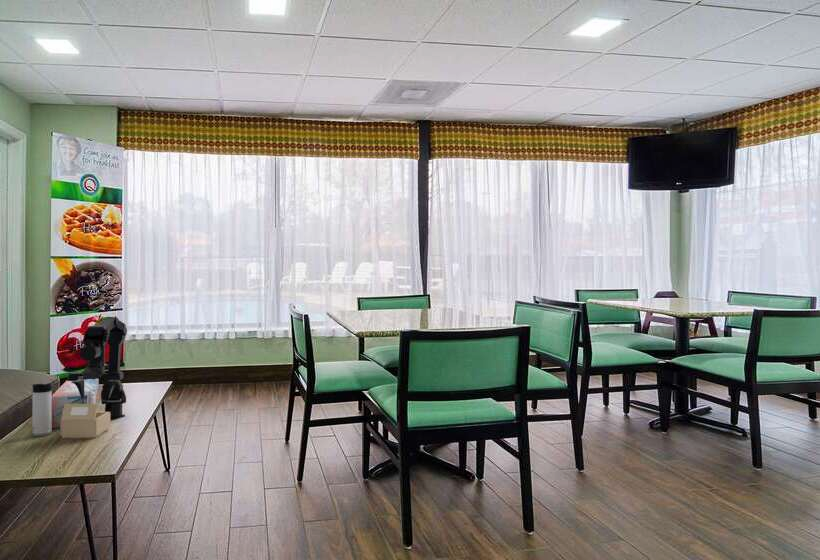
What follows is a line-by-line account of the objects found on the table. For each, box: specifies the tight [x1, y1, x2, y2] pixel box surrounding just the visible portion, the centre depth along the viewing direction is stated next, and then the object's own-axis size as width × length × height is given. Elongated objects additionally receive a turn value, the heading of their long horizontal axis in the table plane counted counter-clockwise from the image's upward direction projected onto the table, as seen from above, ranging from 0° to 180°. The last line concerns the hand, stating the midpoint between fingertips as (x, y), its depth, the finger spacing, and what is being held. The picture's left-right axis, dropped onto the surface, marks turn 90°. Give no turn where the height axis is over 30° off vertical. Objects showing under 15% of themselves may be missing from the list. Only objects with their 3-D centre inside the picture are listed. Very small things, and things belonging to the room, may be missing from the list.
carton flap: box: [61, 404, 99, 420], centre depth 225 cm, size 6×12×1 cm
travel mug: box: [31, 383, 53, 438], centre depth 228 cm, size 6×7×20 cm
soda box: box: [52, 379, 100, 429], centre depth 258 cm, size 41×14×13 cm, turn 22°
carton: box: [59, 411, 111, 439], centre depth 230 cm, size 13×13×7 cm
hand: (95, 398), depth 231 cm, fingers open, 9 cm apart
